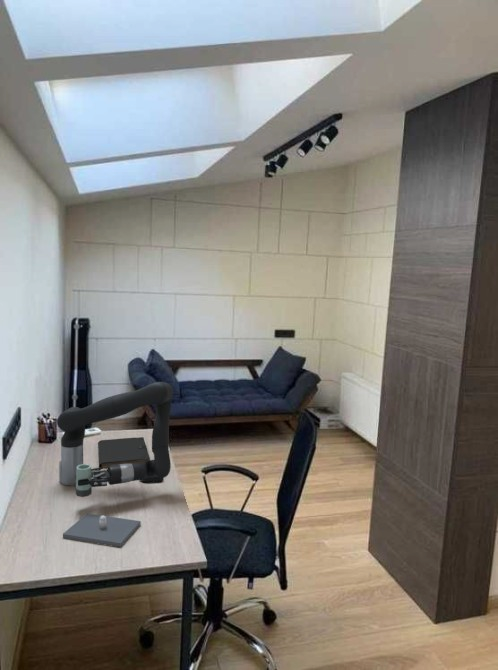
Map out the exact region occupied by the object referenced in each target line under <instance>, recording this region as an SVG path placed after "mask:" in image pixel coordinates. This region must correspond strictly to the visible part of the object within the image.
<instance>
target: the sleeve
mask: <svg viewBox="0 0 498 670" xmlns="http://www.w3.org/2000/svg"><path fill="white" fill-rule="evenodd" d="M91 469H92V466H91V464H87V463H83V464H82V465H79V466H77V467H76V485H75V495H76V497H79V498H85V497H89V496H90V495H92V494H93V493H92V488H93V487H91V485H83V486H78V480H81V479H88V480H89V478H91V472H92V471H91Z"/></svg>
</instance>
